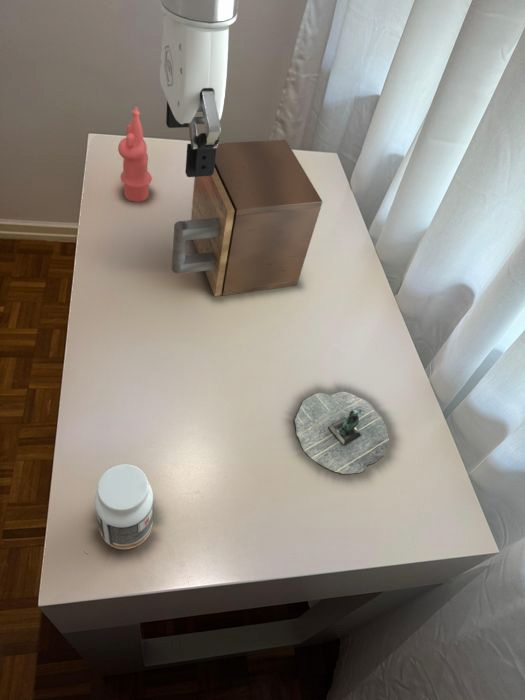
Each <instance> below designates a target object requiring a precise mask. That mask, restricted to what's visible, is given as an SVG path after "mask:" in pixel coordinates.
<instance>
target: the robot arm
mask: <svg viewBox="0 0 525 700" xmlns="http://www.w3.org/2000/svg"><path fill="white" fill-rule="evenodd" d="M239 1H240V0H160V3H159V4H160V9H161V11H162V12H163V21H162V22H163V23H162V34H161V47H160V63H159V64H160V65H159V81H160V85H161V89H162V92H163V93H164V97H165V100H166V113H165V114H166V119H165V124H166V126H167V128H169V129H179V128H180V129H181V128H188V132H189V141H190V143H187V144H186V155H185V156H186V159H185V172H184V173H185V175H186V177H187V178H195V177H201V176H211V175H213V173H214V165H215V157H216V148H217V147H218V143H220V140H219V139H220V135H221V132H222V129H221V122H220V121H221V119H222V116H223V110H224V105H225V98H226V97H225V96H226V88H227V74H228V62H229V61H228V59H229V39H230V38H229V36H230V26H231V25H232V24H234V23H235V22H236V20H237V18H238V10H239ZM197 113H202V116H196V114H197ZM197 125H204V127H203V132H201V133H199V134H198V130H197Z"/></svg>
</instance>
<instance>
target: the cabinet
mask: <svg viewBox="0 0 525 700" xmlns="http://www.w3.org/2000/svg"><path fill="white" fill-rule="evenodd" d="M214 167H215V169H216V171H217V173H218V176H219V178H220V180H221V182H222V184H223V186H224V189H225V191H226V193H227V195H228V197H229V199H230V202H231V204H232V206H233V208H234V210H235V212H234V218H233V224H232V230H231V236H230V243H229V249H228V255H227V261H226V267H225V274H224V280H223V286H222V292H221V296H223V297H225V296H231V295H238V294H244V293H252V292H259V291H265V290H266V291H267V290H274V289H279V288H287V287H293V286H294V287H295V286H298V283H299V281H300V278H301V273H302V270H303V267H304V264H305V261H306V257H307V255H308V250H309V247H310V244H311V241H312V238H313V235H314V231H315V228H316V225H317V221H318V218H319V215H320V211H321V208H322V206H323V199H322V198H321V196H320V195H319V193H318V191H317V189H316V187H315V186H314V184H313V183H312V182H311V181H312V180H311V179H310V178H309V177H308V175H307V173H306V171H305V169H304V168H303V166H302V165H301V163H300V161H299V159H298V158H297V156H296V155H295V152H294V151H293V149H292V148H291V145H290V144H289V143H288V141H287V140H286V139H274V140H254V141H237V142H235V141H233V142H218V147H217V148H216V157H215V165H214Z"/></svg>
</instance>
